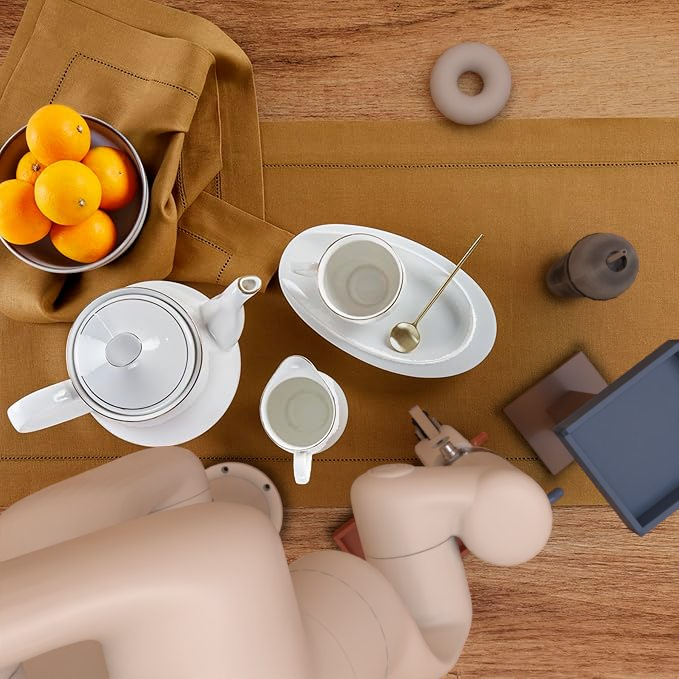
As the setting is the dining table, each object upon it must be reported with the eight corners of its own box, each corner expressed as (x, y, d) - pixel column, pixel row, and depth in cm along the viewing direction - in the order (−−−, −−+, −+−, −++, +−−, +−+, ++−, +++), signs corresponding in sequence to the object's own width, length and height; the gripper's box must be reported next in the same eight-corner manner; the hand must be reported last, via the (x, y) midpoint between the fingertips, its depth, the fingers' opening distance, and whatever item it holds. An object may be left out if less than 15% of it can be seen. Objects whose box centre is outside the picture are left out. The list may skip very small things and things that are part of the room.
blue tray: (628, 529, 58) (641, 537, 55) (551, 429, 58) (560, 432, 55) (746, 439, 58) (764, 443, 55) (668, 339, 58) (682, 338, 56)
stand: (551, 474, 80) (629, 520, 58) (501, 409, 80) (560, 430, 58) (628, 415, 80) (736, 438, 58) (578, 350, 80) (667, 348, 58)
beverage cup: (587, 314, 80) (668, 300, 60) (529, 302, 80) (590, 285, 60) (599, 256, 80) (683, 223, 60) (541, 244, 80) (605, 208, 60)
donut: (493, 40, 81) (417, 63, 81) (500, 25, 78) (420, 50, 78) (517, 115, 81) (441, 139, 81) (526, 104, 77) (446, 129, 77)
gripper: (389, 439, 61) (381, 420, 79) (502, 586, 61) (468, 535, 78) (452, 390, 61) (430, 382, 79) (565, 538, 61) (518, 497, 78)
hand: (449, 458), depth 78 cm, fingers open, 8 cm apart
